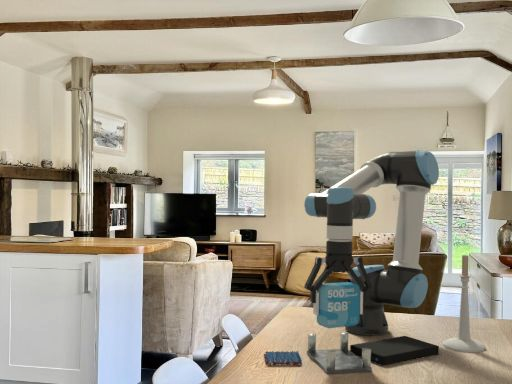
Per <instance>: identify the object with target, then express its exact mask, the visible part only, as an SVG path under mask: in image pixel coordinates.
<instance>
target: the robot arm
mask: <svg viewBox="0 0 512 384" xmlns="http://www.w3.org/2000/svg"><path fill="white" fill-rule="evenodd" d="M438 164H439V163H438V161H437V159H436V157H435V155H434V154H433V153H432V152H431V151H428V150H410V151H390V152H389V151H388V152H385V153H383V154H379V155H377V156H375V157H373V158H371V159H369V160H368V161H366V162H364V163H363V164H361V166H360V168H359V169H358V170H357V171H355V172H354V173H352V174H350V175H348V176H347V177H345V178H344V179H342V180H340V181H338V182H337V183H336V184H334V185H332V186H331V187H329V188H328V189H326V190H324V191H322V192H320V193H318V192H314V193H309V194H307V196H306V197H305V198H304V204H303V205H304V206H303V207H304V210H305V213H306V214H307V216H310V217H316V218H326V239H327V240H326V243H325V245H326V246H325V257H320V256H316V257H315V260H314V265H313V267H312V268H311V271H310V273H309V275H308V277H307V280H306V281H305V283H304V286H303V287H304V289H305V290H307V291H309V292H310V300H309V301H310V303H311V304H313V307H312V308H313V314H314V315H315V316H317V315H319V292H317V290H318V289H319V287H320V286H321V285H322V284H324V282H325V281H326V280H327V278H328V277H329V276H330V275H332V273H334V274H336V273H337V274H338V273H346V274H348V275H349V277H350V279H349V281H350V283H353V284H357V285H358V286H359V288H360V315H359V323H358V324H357V325H355V326H345V327H344V329H345V331H347V333H351V334H355V335H360V336H361V335H363V336H380V335H381V336H382V335H385V334H387V333H389V324H388V320H387V316H386V314H385V310H384V305H389V306H393V307H394V306H395V307H401V308H404V309H406V308H409V309H410V308H411V309H415V308H418V307H420V305H422V303H423V302H424V300H425V298H426V296H427V294H428V293H427V292H428V287H429V283H428V277H427V276H426V275H425V274H424V273H423V267H421V265H420V264H419V262H420V261H419V260H420V251H421V241H422V231H423V220H424V212H425V202H426V201H425V200H426V195H427V194H428V193H430V192H431V189H432V187H431V186H434V185H435V184H437V182H438V180H439V176H440V173H439V172H440V170H439V165H438ZM381 185H395V186H396V187H395V188H396V189H397V191H398V192H399V199H398V201H399V202H398V208H397V217H396V227H395V237H394V245H393V256H392V260H391V261H390V262H389V263H388V264H387V269H386V268H385V265H384V264H372V265H371V264H370V265H364V259H363V257H360V256H359V255H358V256H356V257H353V242H352V241H351V240H353V237H354V236H353V235H354V234H353V233H354V232H353V231H354V229H353V227H354V226H353V224H354V220H365V219H370V218H371V217H373V216H374V214H375V213H376V210H377V203H376V200H375V199H374V198H373V196H371V195H369V194H366V193H365V192H367V191H368V190H370V189H372V188H378V187H380V186H381ZM324 263H325V264H326V266H325V268H324V269H323V271H322V273H321V274H320V275H319V276H318V274H319V272H320V270H321V268H322V266H323V265H324ZM353 263H354V265H356V266H355V267H353V268H352V267H351V266H352V265H353ZM385 269H386V270H385ZM317 276H318V277H317Z"/></svg>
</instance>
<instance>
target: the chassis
mask: <svg viewBox="0 0 512 384" xmlns="http://www.w3.org/2000/svg"><path fill="white" fill-rule="evenodd" d="M339 334H340V343H339V345H340V346H339V348H334V349H332V348H331V349H317V347H316V346H317V344H316V343H317V334H316V333H308V334H307V350H306V354H307V356H308V357H309V358H310V359H311V360H312V361H314V363H315V364H316V365H317V366H318V367H319V368H321V369H322V371H323V372H324V373H325V374H328V375H329V374H331V375H332V374H347V373H348V374H349V373H366V372H367V373H368V372H372V371H373V368H372V362H371V349H370V348H362V358H361V357H358V356H356V355H355V354H353V353H352V352H351V351H350V349H349V332H340V333H339Z"/></svg>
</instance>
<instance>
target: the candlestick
mask: <svg viewBox="0 0 512 384" xmlns="http://www.w3.org/2000/svg"><path fill="white" fill-rule="evenodd" d="M469 258H470V257H469V255H467V254H462V255H461V275H459V277H460V282H461V284H462V286H461V287H460V288H461V294H460V306H459V307H460V309H459V321H458V330H457V331H458V334H457V336H455V337H451V338H447V339H445V340H444V341H443V344H442V346H443V347H444V348H445V349H448V350H450V351H451V350H452V351H454V352H460V353H472V354H473V353H481V352H485V350H486V346H485V345H484V344H483V343H482V342H481V341H479V340H477V339H473V338H471V331H470V328H471V327H470V326H471V325H470V303H469V301H470V300H469V287H468V284H469V282H470V278H471V277H472V276H471V275H469V265H470V264H469V262H470V261H469Z"/></svg>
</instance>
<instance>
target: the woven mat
mask: <svg viewBox="0 0 512 384" xmlns="http://www.w3.org/2000/svg"><path fill="white" fill-rule="evenodd" d="M263 358H264V363H265V364H266V367H269V366H271V367H277V366H278V367H281V366H282V367H285V366H286V367H289V366H290V367H297V365H298V366H299V367H301V366H302V364H303V362H302V361H303V359H302V357H301V355H300V353H299V350H298V351H297V350H296V351H293V350H292V351H288V350H286V351H283V350H282V351H279V350H278V351H265V352H264V354H263Z"/></svg>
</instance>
